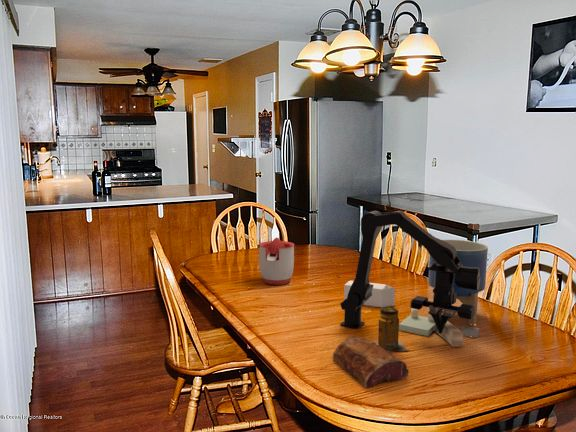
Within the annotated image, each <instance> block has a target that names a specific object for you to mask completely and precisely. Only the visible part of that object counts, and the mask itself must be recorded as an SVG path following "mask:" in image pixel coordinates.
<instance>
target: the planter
mask: <svg viewBox="0 0 576 432" xmlns="http://www.w3.org/2000/svg"><path fill="white" fill-rule="evenodd" d="M442 240H443V241H445V242H447V243H449V244H451V245H452V246H454V247H455V249H456V251H457V256H458V258H459V259H460V261H461V262H462V264H463V266H465V267H478V268H479V272H480V285H479V289H478V290H471V289H464V288H459V287H458V286H456V284H455V273H454V284H453V287H454V292H455V293H457V298H456V300H458V301H460V302H461V305H462V304H466V305H472V306H474V307H475V315H474V316H473V317H472V319H468V324H469V323H470V324H472V325H474V324H476V325H477V318H478V317H477V315H478V301H479V300H478V299H479V298H478V297H479V293H480V292H482V291H485V289H486V282H487V281H486V280H487V268H488V267H487V266H488V249H489V247H488V246H487V245H486V244H484V243H482V242H477V241H470V240H465V239H464V240H462V239H442ZM428 261H429V262H428V263H429V264H428V268H429V267H430V266H431V265H433V263H434V262H436V261H435V260H434V259H433V258H432V257H431V256H430V255H429V260H428ZM434 279H435V271H433V270H428V280H427V281H428V285H429V286H430V287H431V288H433V289H434ZM470 324H469V325H470ZM472 325H471V326H472Z"/></svg>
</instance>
